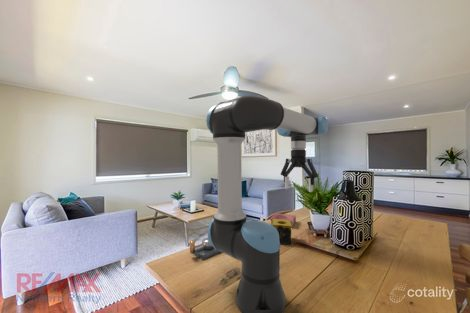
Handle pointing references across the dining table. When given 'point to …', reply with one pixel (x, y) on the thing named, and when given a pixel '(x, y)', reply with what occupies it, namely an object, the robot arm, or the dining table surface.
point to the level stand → (205, 252)
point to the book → (284, 218)
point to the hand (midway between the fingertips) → (298, 190)
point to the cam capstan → (205, 245)
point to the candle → (283, 230)
